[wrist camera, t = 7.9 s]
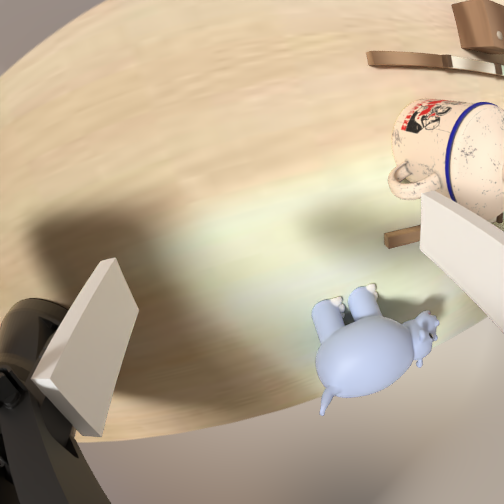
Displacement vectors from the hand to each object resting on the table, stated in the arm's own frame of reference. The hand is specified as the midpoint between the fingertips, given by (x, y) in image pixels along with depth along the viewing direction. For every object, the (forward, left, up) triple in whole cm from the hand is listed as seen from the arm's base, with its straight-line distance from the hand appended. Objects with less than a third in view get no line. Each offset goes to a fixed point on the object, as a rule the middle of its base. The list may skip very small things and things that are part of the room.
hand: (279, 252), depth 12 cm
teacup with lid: (+16, 0, -14) cm, 21 cm away
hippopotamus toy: (+9, -19, -14) cm, 25 cm away
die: (+26, +13, -14) cm, 32 cm away
